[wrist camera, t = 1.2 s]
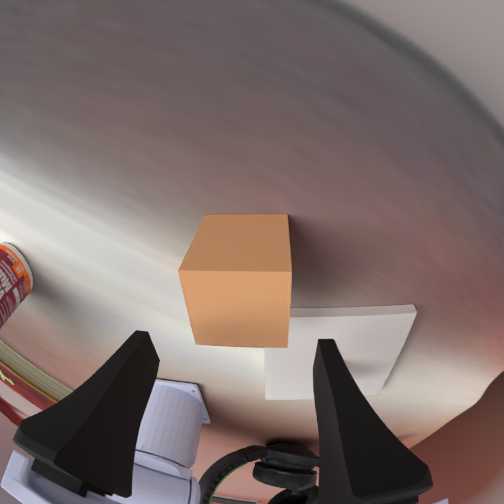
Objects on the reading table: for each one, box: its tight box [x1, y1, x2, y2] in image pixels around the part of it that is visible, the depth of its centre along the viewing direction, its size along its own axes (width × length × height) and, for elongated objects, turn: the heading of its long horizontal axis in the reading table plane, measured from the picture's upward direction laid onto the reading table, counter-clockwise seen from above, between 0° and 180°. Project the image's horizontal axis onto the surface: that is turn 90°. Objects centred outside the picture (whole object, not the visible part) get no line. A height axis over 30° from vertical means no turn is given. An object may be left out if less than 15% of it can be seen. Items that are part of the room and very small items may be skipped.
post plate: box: [265, 304, 417, 400], centre depth 22 cm, size 12×12×4 cm
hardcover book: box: [0, 340, 73, 410], centre depth 34 cm, size 12×21×4 cm, turn 59°
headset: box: [199, 442, 320, 504], centre depth 29 cm, size 18×14×29 cm
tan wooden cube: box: [178, 214, 292, 348], centre depth 16 cm, size 5×5×6 cm
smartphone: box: [211, 495, 259, 504], centre depth 71 cm, size 13×27×2 cm, turn 70°
